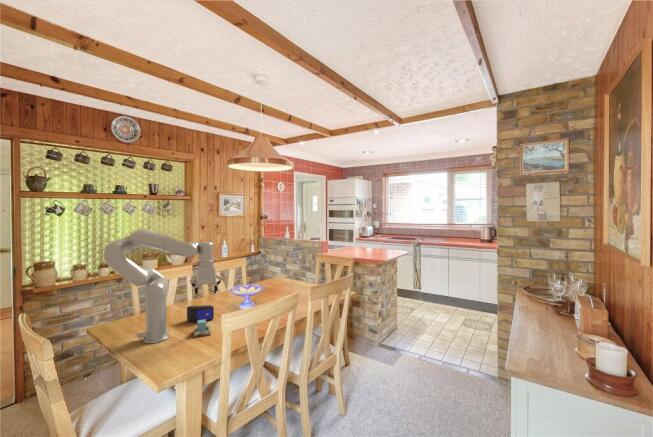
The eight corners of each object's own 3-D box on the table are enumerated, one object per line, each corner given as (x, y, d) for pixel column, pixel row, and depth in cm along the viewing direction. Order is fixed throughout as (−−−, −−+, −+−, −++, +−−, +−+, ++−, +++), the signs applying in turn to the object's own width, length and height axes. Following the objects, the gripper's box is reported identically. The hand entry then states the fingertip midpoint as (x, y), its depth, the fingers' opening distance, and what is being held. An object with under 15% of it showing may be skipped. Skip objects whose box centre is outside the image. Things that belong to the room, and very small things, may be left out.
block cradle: (193, 337, 160) (193, 333, 160) (193, 331, 168) (193, 327, 168) (210, 335, 164) (210, 330, 164) (210, 329, 172) (210, 324, 172)
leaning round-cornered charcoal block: (184, 323, 180) (184, 308, 180) (187, 320, 185) (187, 305, 185) (212, 322, 183) (212, 307, 182) (214, 319, 187) (213, 304, 187)
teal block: (197, 333, 163) (197, 323, 163) (197, 330, 167) (197, 320, 167) (206, 332, 165) (206, 322, 165) (205, 329, 169) (205, 319, 169)
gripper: (189, 266, 158) (189, 297, 159) (222, 264, 165) (222, 293, 166) (189, 263, 165) (189, 293, 166) (221, 261, 172) (221, 290, 173)
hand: (206, 293), depth 166 cm, fingers open, 9 cm apart
